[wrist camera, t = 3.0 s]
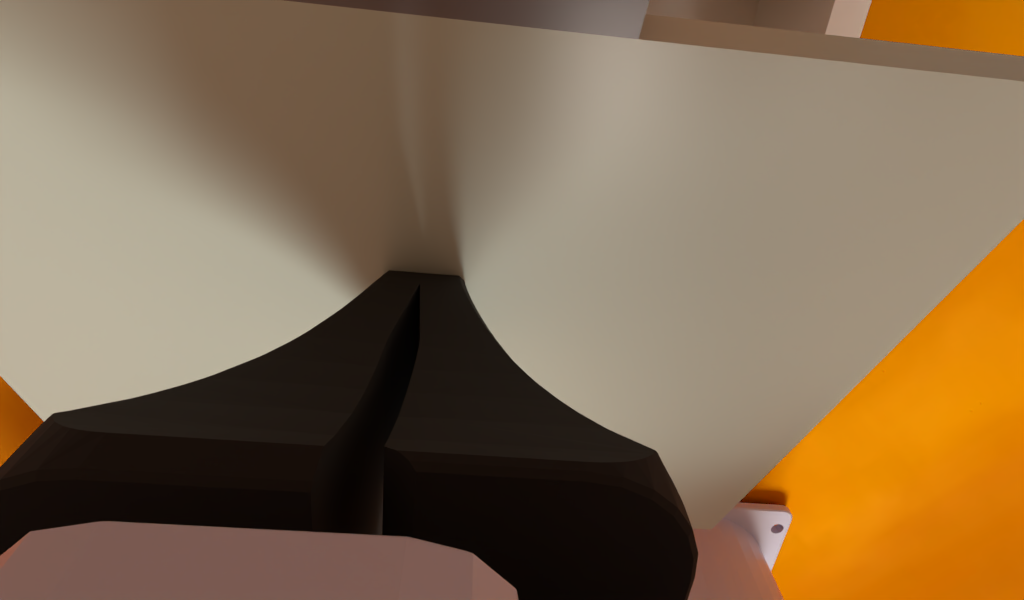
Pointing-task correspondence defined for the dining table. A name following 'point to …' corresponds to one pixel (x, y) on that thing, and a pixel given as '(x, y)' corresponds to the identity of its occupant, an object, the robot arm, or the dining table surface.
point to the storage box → (773, 13)
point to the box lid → (496, 200)
